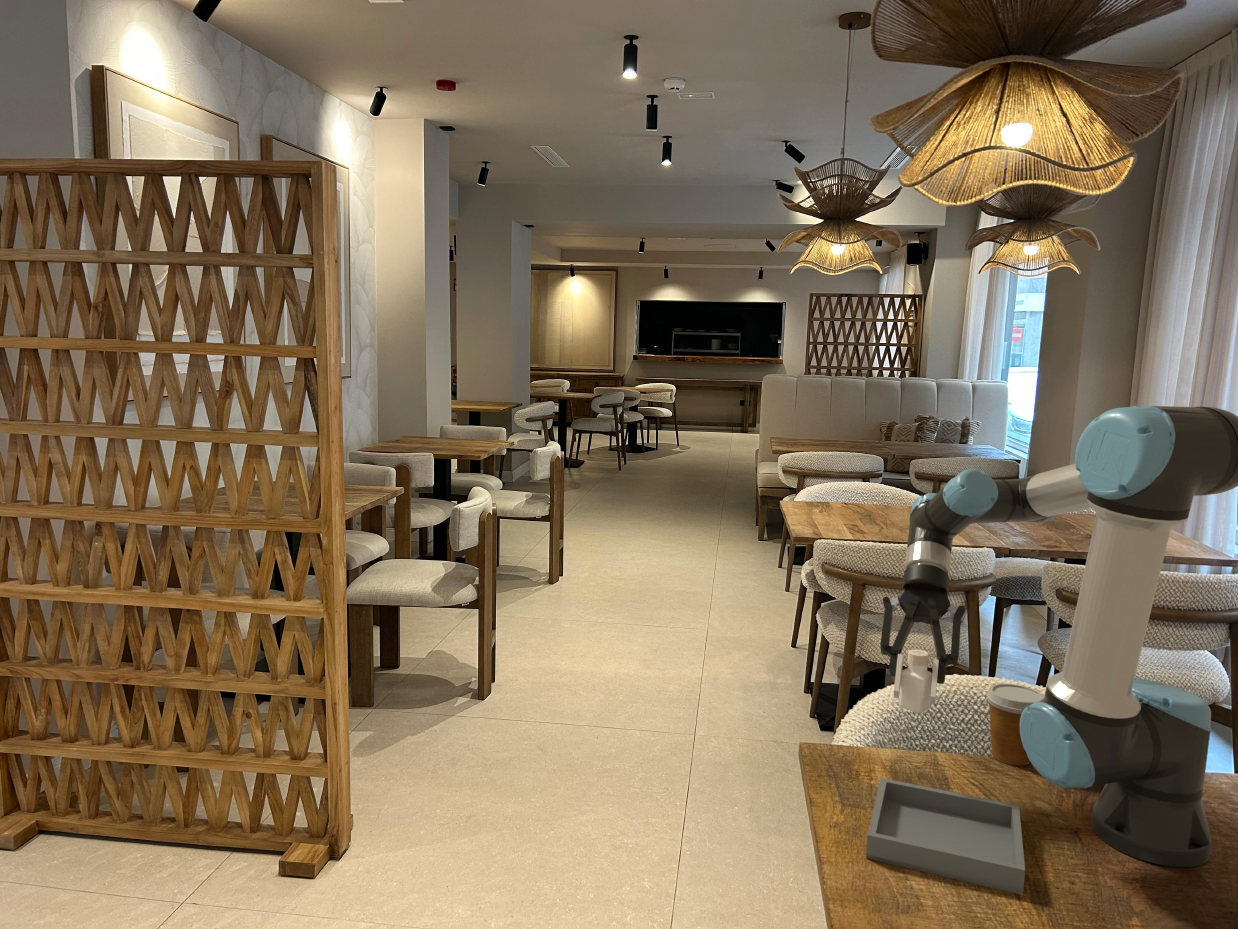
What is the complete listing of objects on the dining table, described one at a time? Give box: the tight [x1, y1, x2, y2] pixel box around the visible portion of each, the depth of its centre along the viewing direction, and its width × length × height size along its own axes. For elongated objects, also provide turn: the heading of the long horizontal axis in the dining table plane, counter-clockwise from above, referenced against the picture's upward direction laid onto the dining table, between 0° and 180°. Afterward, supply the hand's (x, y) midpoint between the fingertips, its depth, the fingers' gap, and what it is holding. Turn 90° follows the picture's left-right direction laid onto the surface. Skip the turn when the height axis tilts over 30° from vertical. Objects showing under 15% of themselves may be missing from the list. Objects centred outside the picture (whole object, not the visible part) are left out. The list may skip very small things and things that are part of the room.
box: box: [865, 777, 1026, 896], centre depth 125 cm, size 20×18×4 cm
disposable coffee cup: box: [986, 683, 1044, 767], centre depth 152 cm, size 10×10×12 cm
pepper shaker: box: [898, 649, 933, 714], centre depth 141 cm, size 4×4×10 cm
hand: (914, 697), depth 138 cm, fingers closed on pepper shaker, 5 cm apart
